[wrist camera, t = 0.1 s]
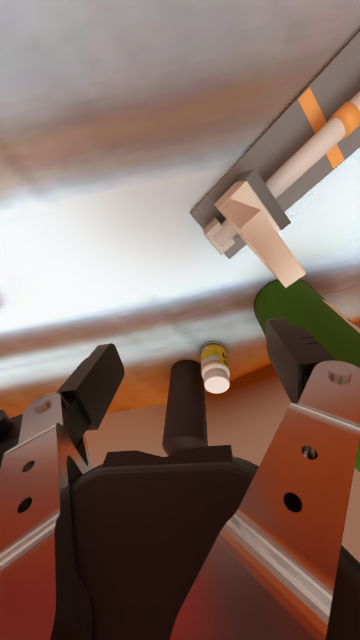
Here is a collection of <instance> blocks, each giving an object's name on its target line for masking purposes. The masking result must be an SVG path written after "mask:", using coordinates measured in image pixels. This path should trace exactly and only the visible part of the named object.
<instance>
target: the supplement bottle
mask: <svg viewBox="0 0 360 640" xmlns="http://www.w3.org/2000/svg"><path fill="white" fill-rule="evenodd" d="M201 374H202V378H203V379H204V386H205V388H206V390H208V391H209V392H212V393H222V392H225V391H226V390H227V389H228V388H229V385H230V384H229V375H230V371H229V366H228V361H227V356H226V351H225V348H224V346H223V345H222V344H221V343H219V342H208V343H206V344H204V345H203V346H202V348H201Z"/></svg>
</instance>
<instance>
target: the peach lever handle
mask: <svg viewBox="0 0 360 640" xmlns="http://www.w3.org/2000/svg"><path fill="white" fill-rule="evenodd" d="M235 181H236V182H235V183H234V184H233V185H232V186H231V187H230V188H229V189H228V190H227V191H226V192H225V193H224V194H223V195H222V197H221V198H220V199H219V200H218V201H217V202H216V203H215V204H214V205H215V206H216V207H217V209H218V210H219V211H220V212H221V214H222V215H223V216H224V217H225V219H227V220H228V221H229V222H230V224H231V225H232V226H233V228H234V229H235V230H236V231H237V234H238V235H239V236H240V237H241V239H242V240H243V241H244V242H245V243H246V244H247V246H248V247H249V248H250V249H251V250H252V251H253V252H254V253H255V254H256V255H257V256H258V258H259V259H260V260H261V261H262V262H263V263H264V264H265V265H266V266H267V268H268V269H269V270H270V271H271V272H272V273H273V274H274V275H275V276H276V278H277V279H278V280H279V281H280V282H281V283H282V284H283V285H284V287H285V288H286V287H288V286H289V285H291V284H292V283H294V282H295V281H297V280H298V279H299V278H301V277H302V276H304V275H305V274H306V273H305V271H304V270H303V268H302V267H301V266H300V264H299V263H298V261H297V260H296V259H295V257H294V256H293V254H292V253H291V251H290V250H289V249H288V247H287V246H286V244H285V243H284V242H283V240H282V239H281V237H280V236H279V234H278V233H277V232H276V231H277V230H278V229H280V230H282V229H284V228H285V227H286V226H287V225H289V224H290V223H291V222H290V220H289V219H288V217H287V216H286V214H285V213H284V211H283V210H282V208H281V207H280V205H279V204H278V202H277V201H276V199H275V198H274V196H273V195H272V193H271V192H270V190H269V189H268V187H267V186H266V184H265V183H264V181H263V180H262V178H261V177H260V175H259V174H258V172H257V171H256V169H253V170H249V171H245V172H242V173H241V174H240V175H239V176H238V177H237V178H236V179H235Z"/></svg>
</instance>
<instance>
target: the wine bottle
mask: <svg viewBox="0 0 360 640" xmlns="http://www.w3.org/2000/svg"><path fill="white" fill-rule="evenodd" d="M254 311H255V315H256V317H257V320H258V322H259V324H260V326H261V328H262V330H263V332H264V334H265V336H266V320H269V319H275V318H282V317H283V318H284V319H285V320H286V321H287V322H288V323H289V325H290V326H299V327H301V328H303V329H306V330H307V331H308V332H309V333H310V334H311V335H312V336H313V338H315V339H316V340H317V341H318V342H319V343H320V344H321V345H322V346H323V347H324V348H325V349H326V350H327V351H328V352H329V353H330V354H331V355H332V356H333V357H334V358H335V359H336V360H337V361H342V362H346V363H350V364H352V365H355V366H357V367H359V368H360V329H359V328H358V327H357V326H356V325H354V324H353V323H352V322H351V321H350V320H349V319H348V318H346V317H345V316H344V315H343V314H342V313H341V312H339V311H338V310H337V309H336V308H335V307H334V306H332V305H331V304H330V303H329V302H327V301H326V300H325V299H324V298H323V297H322V296H321V295H319V294H318V293H317V292H316V291H315V290H314V289H312V288H311V287H310V286H309V285H308V284H307V283H306V282H304V281H302V280H299V279H298V280H297V281H295V282H294V283H292V284H291V285H289V286H288V287H286V288H285V287H284V285H283V284H282V283H281V282H280V281H279V280H275V281H273V282H271V283H270V284H268V285H266V286H265V287H264V288H263V289H262V290H261V291H260V293H259V294H258V296H257V298H256V300H255V305H254ZM354 468H355V469H357V470H358V471H359V472H360V445H359V444H358V449H357V455H356V461H355V466H354Z"/></svg>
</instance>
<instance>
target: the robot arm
mask: <svg viewBox="0 0 360 640" xmlns="http://www.w3.org/2000/svg"><path fill="white" fill-rule="evenodd" d="M266 339H267V351H268V355H269V359H270V361H271V363H272V365H273V367H274V369H275V371H276V373H277V375H278V377H279V379H280V381H281V383H282V385H283V387H284V389H285V390H286V393H287V395H288V397H289V399H290V401H291V404H290V405H289V407H288V409H287V411H286V413H285V415H284V417H283V419H282V421H281V423H280V425H279V427H278V429H277V431H276V433H275V435H274V437H273V439H272V442H271V443H270V445H269V448H268V450H267V452H266V454H265V456H264V458H263V460H262V462H261V464H260V466H257V465H255V464H253V463H251V462H249V461H247V460H244V459H241V458H237V457H233V455H232V450H231V445H223V446H205V447H196V448H193V449H190V450H187V451H184V452H181V453H177V454H174V455H171V456H168V457H160V456H156V455H152V454H147V453H144V452H140V451H120V452H108V453H107V455H106V458H105V460H104V463H103V464H102V465H99V466H97V467H95V468H92V464H91V459H90V454H89V449H88V445H87V440H86V438H85V436H84V433H85V431H87V430H97V429H98V428H99V425H100V423H101V421H102V419H103V417H104V415H105V413H106V411H107V409H108V407H109V405H110V403H111V401H112V399H113V397H114V395H115V393H116V391H117V389H118V387H119V385H120V383H121V381H122V379H123V377H124V367H123V364H122V362H121V359H120V357H119V354H118V352H117V349H116V347H115V345H114V344H112V343H111V344H104V345H99V346H97V347H96V349H95V350H94V351H93V352H92V353H91V355H90V356H89V357H88V358H86V359H85V360H84V361H82V363H81V364H80V365H79V366H78V367H77V369H76V370H75V371H74V372H73V373H72V375H71V376H70V377H69V378H68V379H67V380H66V382H65V383H64V384H63V385H62V386H61V387H60V389H59V390H58V391H57V392H56V393H50V394H46V395H44V396H42V397H40V398H38V399H37V400H35V401H34V402H33V403H31V404H30V405H29V406H28V407H27V408H26V410H25V411H24V413H23V414H22V415H19V416H16V417H13V418H9V417H8V415H7V414H6V413H5V411H3V410H0V640H360V563H359V562H358V561H357V560H356V559H355V558H354V557H353V556H352V555H351V554H350V553H349V552H348V551H347V550H346V549H345V548H344V547H343V546H342V545H341V543H342V538H343V532H344V526H345V520H346V513H347V508H348V501H349V495H350V490H351V484H352V478H353V472H354V466H355V461H356V455H357V449H358V444H359V445H360V368H359V367H357V366H355V365H352V364H350V363H346V362H342V361H337V360H336V359H335V358H334V357H333V356H332V355H331V354H330V353H329V352H328V351H327V350H326V349H325V348H324V347H323V346H322V345H321V344H320V343H319V342H318V341H317V340H316V339H315V338H313V336H312V335H311V334H310V333H309V332H308V331H307V330H306V329H303V328H301V327H299V326H290V325H289V323H288V322H287V321H286V320H285V319H284V318H283V317H282V318H275V319H269V320H266Z"/></svg>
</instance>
